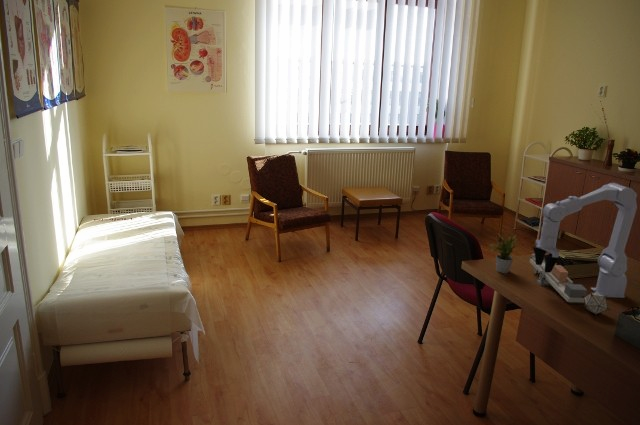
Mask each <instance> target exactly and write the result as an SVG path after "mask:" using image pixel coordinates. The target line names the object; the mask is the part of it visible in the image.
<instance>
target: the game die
mask: <svg viewBox="0 0 640 425" xmlns="http://www.w3.org/2000/svg"><path fill="white" fill-rule="evenodd" d="M582 297H583V298H584V301H585V303H584V306H583V307H584V311H586V310H587V311H590V312H591V313H593V314H594V316H595V317H597V315H599V314H600V313H602V312H605V311H606V310H608V311H611V308H608V303H607V298H608V297H607V296H603V295H601V294H599V293H597V292H596V290H595V292H594V291H593V292H591V293H589V294H586V296H585V297H584V296H582Z"/></svg>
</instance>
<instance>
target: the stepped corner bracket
mask: <svg viewBox="0 0 640 425" xmlns="http://www.w3.org/2000/svg"><path fill="white" fill-rule="evenodd" d="M533 272H534V273H535V274H537V275H538V274H539V273H540V274H539V275H538V279H536V283H537V284H538V285H539V286H540V287H541V286H546V287H548V286H549V287H553V286H552V285H551V284H550V283H549V282H548V281H547V280H546V279H545V278H544V277H545V272H544V271H540V272H539V271H538V270H537V269H536V268H535V267H534V270H533ZM564 302H566V303H567V301H566V300H565V299H564ZM567 304H568V305H581V306H582V305H583V302H568V303H567Z"/></svg>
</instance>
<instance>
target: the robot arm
mask: <svg viewBox="0 0 640 425" xmlns="http://www.w3.org/2000/svg"><path fill="white" fill-rule="evenodd" d="M637 197H638V194H637V193H636V191H635V190H633V188H631V187H627V186H624V185H621V184H619V183H617V182H610V183H607V184H604V185H602V186H601V187H600V188H598V189H595V190H593V191H591V192H588V193H587V194H584V195H581V196H580V197H577V196H574V195H573V196H572V195H569V196H567V198H565V199H562V200H560V201H559V200H557V201H556V202H555V203H553V202H552V203H551V202H550V203H547V204H545V206H544V207H543V208H541V214H542V216H543V219H542V220H543V221H542V226H541V231H540V232H541V233H540V238H539V239H535V245H533V246H532V249H533V252H534V253H533V254H535V262H536V265H542V263H543V259H544V258H545V272H547V273H551V271H552V269H553V267H554V266H555V265H557V263H558V262H559V260H561V256H560V252H559V251H558V249H557V247H556V245H557V240H558V236H559V229H560V225H561V221H563V219H565V217H566V216H569V215H571V214H574V213H576V212H579V211H581V210H582V209H583V207H584V206H587V205H590V204H593V203H597V202H601V201H604V200H606V201H610V202H613V203H614V204H615V205H616V206H615V207H617V208H618V211H617V214H616V217H615V218H616V219H615V221H614V224H613V229H612V233H611V235H610V239H609V242H608V246H607V247H606V248H603V249H602V252H601V254H600V255H599V256H598V258H597V264H598V266H599V272H598V277H597V281H596V286H595V287H590V290H591V291H593V293H594V292H595V290H596V292H597V293H599V294H601V295H603V296H607V297H606V298H621V299H623V298H626V296H625V292H626V289H627V283H628V279H627V275H626V274H625V273H626V272H627V270H628V263H627V261H628V257H627V254H626V252H625V249H626V245H627V242H628V239H629V236H630V232H631V229H632V225H633V223H634V219H635V215H636V212H637V210H638V209H637V208H638V204H637ZM547 253H548V254H547Z"/></svg>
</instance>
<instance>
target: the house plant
mask: <svg viewBox="0 0 640 425" xmlns="http://www.w3.org/2000/svg"><path fill="white" fill-rule="evenodd" d="M498 236H499V238H500V241H499V240H498V239H497V238H495V237H491V236H490V238H492V240H494V241H495V242H496V244H497V245H494V244H488V245H489V247H492V249H491V253H492V252H498V254H496V255H495V271H496V272H498V273H502V274H508V273H509V272H510V269H511V268H512V267H511V266H512V263H513V260H514V258H513V257H512V254H513V252H514V249H515V248H517V246H518V242H519V240H517V239H516V237H517V235H513V236H512V237H511V236H509V237H508V239H507V240H505V238H504V237H503V236H502V235H501V234H500V233H498ZM516 252H518V253H521V251H519V250H516V251H515V253H516ZM499 253H500V254H499Z"/></svg>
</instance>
